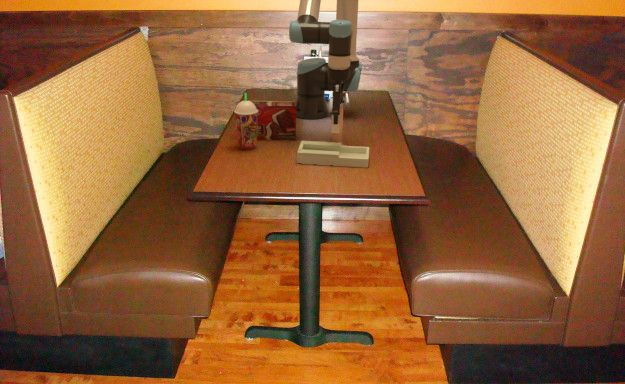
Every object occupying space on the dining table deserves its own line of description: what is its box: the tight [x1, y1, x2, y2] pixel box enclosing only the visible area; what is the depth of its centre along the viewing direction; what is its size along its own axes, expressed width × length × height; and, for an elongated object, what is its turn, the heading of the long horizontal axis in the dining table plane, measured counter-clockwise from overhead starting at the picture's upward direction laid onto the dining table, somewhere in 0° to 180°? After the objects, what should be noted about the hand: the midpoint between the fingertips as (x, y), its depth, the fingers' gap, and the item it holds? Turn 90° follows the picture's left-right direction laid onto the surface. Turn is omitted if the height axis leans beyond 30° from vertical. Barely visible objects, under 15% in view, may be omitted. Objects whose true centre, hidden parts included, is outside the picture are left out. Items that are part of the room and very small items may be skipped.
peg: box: [330, 107, 346, 146], centre depth 209 cm, size 6×6×15 cm
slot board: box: [296, 140, 370, 169], centre depth 201 cm, size 12×24×4 cm, turn 84°
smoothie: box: [233, 92, 258, 151], centre depth 207 cm, size 8×8×20 cm
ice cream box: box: [250, 100, 297, 141], centre depth 219 cm, size 20×6×13 cm, turn 92°
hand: (336, 126), depth 208 cm, fingers open, 13 cm apart
